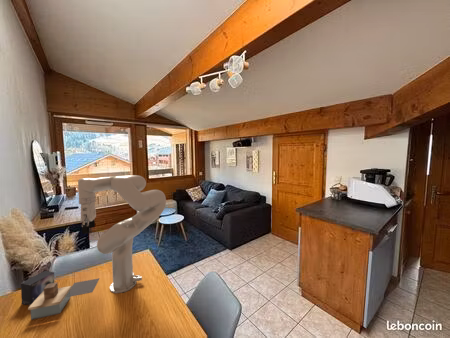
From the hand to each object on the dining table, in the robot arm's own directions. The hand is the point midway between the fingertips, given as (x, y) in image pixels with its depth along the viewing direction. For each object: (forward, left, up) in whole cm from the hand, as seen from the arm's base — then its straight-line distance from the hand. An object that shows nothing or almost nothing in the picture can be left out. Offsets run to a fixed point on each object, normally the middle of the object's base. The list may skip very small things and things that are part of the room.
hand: (88, 230), depth 108 cm
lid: (+9, +20, -23) cm, 32 cm away
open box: (+9, +20, -28) cm, 36 cm away
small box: (+19, +9, -28) cm, 36 cm away
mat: (+1, +8, -28) cm, 29 cm away
